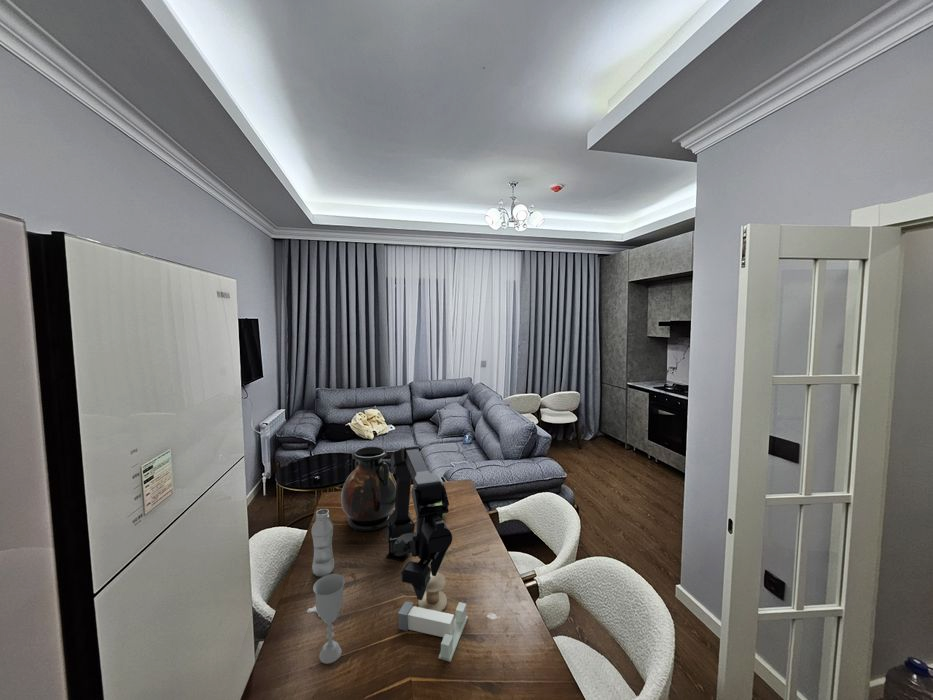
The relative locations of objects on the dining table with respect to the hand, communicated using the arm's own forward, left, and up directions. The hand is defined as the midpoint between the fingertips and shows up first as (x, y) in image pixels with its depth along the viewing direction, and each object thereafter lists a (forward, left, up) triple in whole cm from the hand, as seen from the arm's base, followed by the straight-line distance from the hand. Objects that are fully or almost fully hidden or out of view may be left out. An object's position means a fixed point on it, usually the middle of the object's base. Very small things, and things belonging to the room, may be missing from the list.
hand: (427, 587), depth 101 cm
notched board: (+7, 0, -12) cm, 14 cm away
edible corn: (-20, +57, -12) cm, 62 cm away
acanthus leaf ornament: (-30, -2, -13) cm, 33 cm away
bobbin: (-2, +9, -12) cm, 15 cm away
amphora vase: (-41, +41, -12) cm, 59 cm away
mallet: (0, 0, -12) cm, 12 cm away
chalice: (-19, -14, -12) cm, 26 cm away
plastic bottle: (-39, +10, -12) cm, 42 cm away
